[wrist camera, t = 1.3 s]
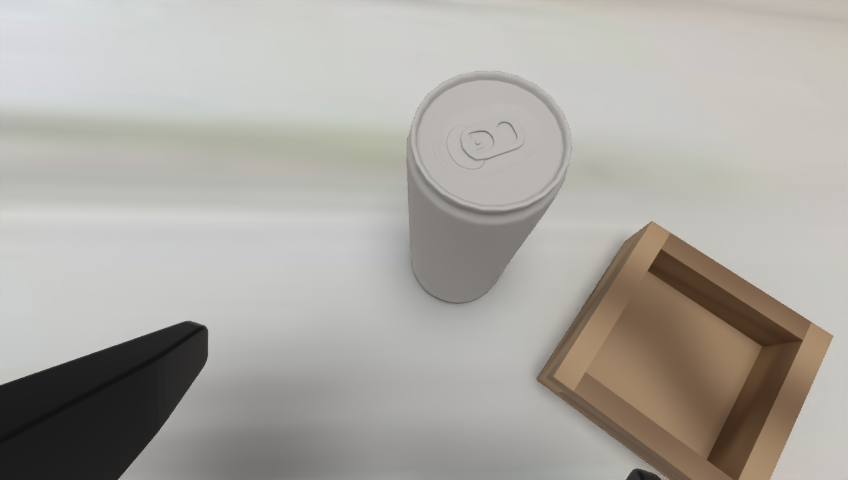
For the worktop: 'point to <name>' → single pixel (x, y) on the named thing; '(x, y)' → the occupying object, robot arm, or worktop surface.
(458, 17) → the worktop surface
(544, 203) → the beverage can
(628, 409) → the walnut socket
